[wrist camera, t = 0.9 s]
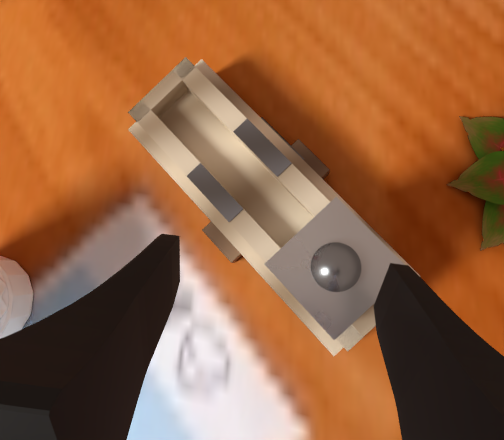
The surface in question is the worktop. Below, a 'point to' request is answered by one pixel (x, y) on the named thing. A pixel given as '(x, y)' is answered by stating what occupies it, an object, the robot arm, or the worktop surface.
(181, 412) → the worktop surface
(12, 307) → the white cup
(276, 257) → the block
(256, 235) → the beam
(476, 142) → the green leafy spiky piece
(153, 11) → the worktop surface
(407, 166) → the worktop surface
